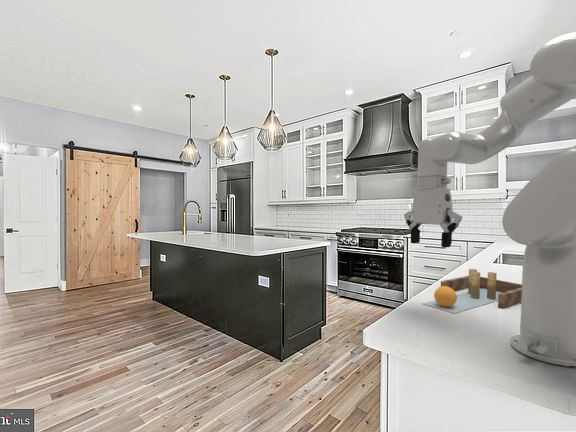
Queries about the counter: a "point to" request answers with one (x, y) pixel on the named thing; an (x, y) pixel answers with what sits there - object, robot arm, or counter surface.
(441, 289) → the ball
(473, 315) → the counter surface
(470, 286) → the pin left
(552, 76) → the robot arm
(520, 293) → the fence
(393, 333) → the counter surface
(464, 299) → the lane
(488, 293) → the pin right
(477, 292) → the pin front
